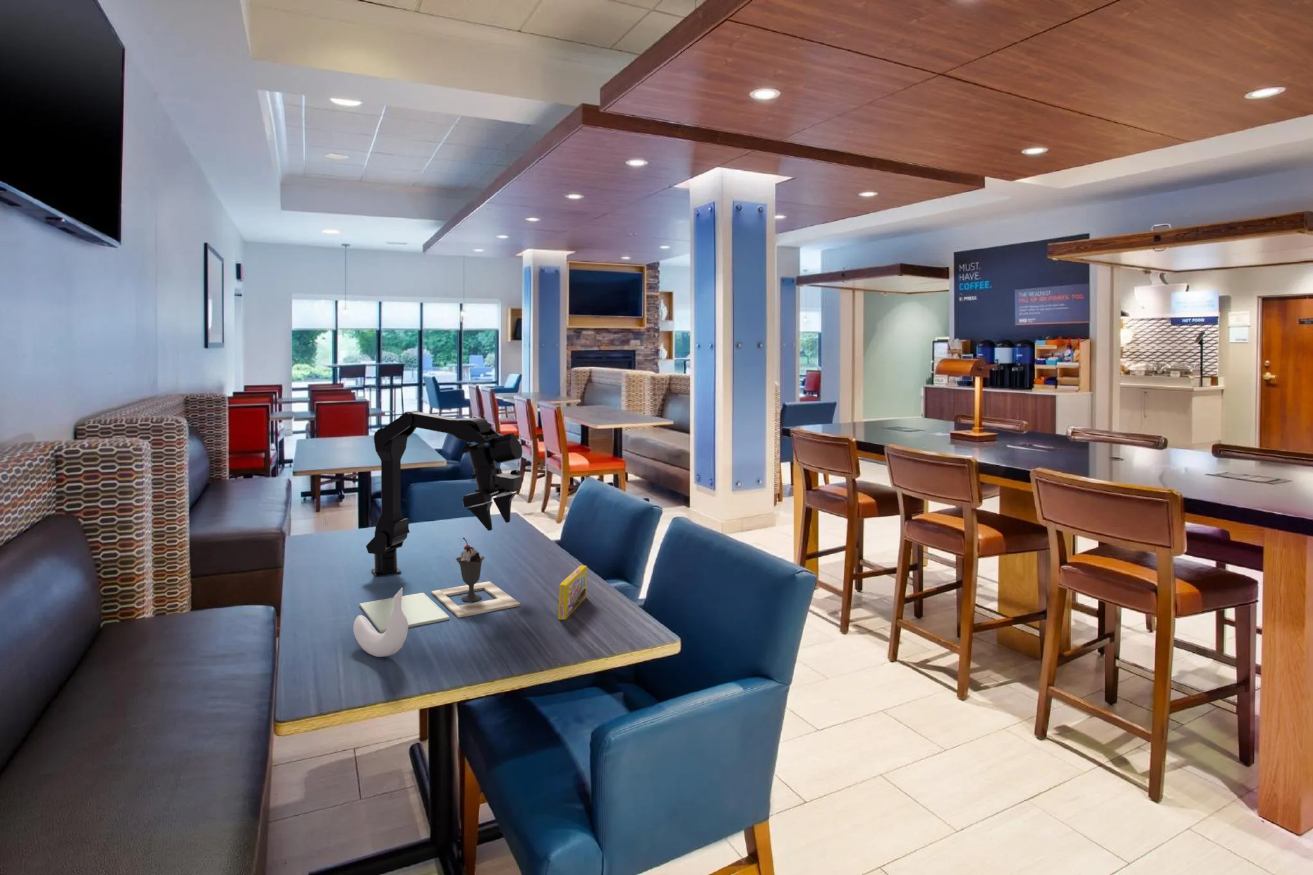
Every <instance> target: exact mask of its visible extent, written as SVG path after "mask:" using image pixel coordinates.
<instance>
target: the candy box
mask: <svg viewBox="0 0 1313 875" xmlns="http://www.w3.org/2000/svg"><path fill="white" fill-rule="evenodd" d="M587 574H588V565H582V564H580V565H579V566H578V567H577V568H575V570H573V571H572V573H570V574H569V575H568V576H567V577H566V578H564V580H562V581H561V583H560V584H559V589H558V591H559V592H558V617H557V619H558V620H559V621H560V620H561V621H565V620H567V619H568V617H570V615H571V614H573V612H574V611H575V610H576V609H577V608H578V606H580V605H581V603H582V602H583V601H584V600H585V599H586V598H587V581H588V580H587V579H588V578H587V577H588V575H587Z"/></svg>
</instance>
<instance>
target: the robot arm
mask: <svg viewBox="0 0 1313 875" xmlns="http://www.w3.org/2000/svg"><path fill="white" fill-rule="evenodd" d="M417 428H418V429H422V430H426V431H428V430H429V431H433V432H438V433H443V434H448V435H451V436H453V437H454V438H456V439H458V440H461V441H463V442H465V444H464V446H463V448H462V449H461V451H460V454H467V453H468V455H469V457H470V463H471V466H472V470H473V473H472V474H470V476H471V479H475V483H476V485H477V486H476V487H477V489H475V490H474V491H475V492H472V493H469V494H466V495H464V496H463V497H462V499H461V501H462V506H463V508H466V509H467V510H468V511H470V512H471V513H472V514H473V515H474V516H475V517H476V518H477V519H478V520H479V521H480V523H481V524H482V526H483V527H484V528H485V529H486V530H487V531H488V532H490V531H492V530H493V522H492V516H491V507H492V506H493V502H494V504H495V506H496V507H497V509H498V512H499V513H500V515H501V517H502V519H503V520H504V522H505V523H506V524H507V523H510V522H511V510H512V508H511V507H512V501H513V499H514V498H515V496H516V495H517V493H518V492H517V491H519V489H520V488H521V482H524V478H523V475H522V473H521V471H520V469H516V468H515V469H512V470H511V471H510V473H509V472H507V473H505V472H503V470H502V468H501V467H497V465H496V463H497V464H502V463H507V462H511V461H515V460H516V461H517V460H519V459H521V458H522V456H523V446H522V444H521V443H520V440H519V439H518V438H517V437H515V432H510V433H505V434H504V435H499V434H498V432H496V431H495V430H494V428H492V427H491V426H490V424H489V422H488V420H487V419H485V418H484V417H483V418H482V417H469V418H468V417H467V418H465V417H464V418H455V417H449V416H444V415H437V414H433V413H428V412H421V411H418V410H409V411H408V410H407V411H405V412H403V413H402V414H401V415H400V416H399V417H398V418H395V420H393V421H391V422H390V423H387V425H385V426H384V427H380V428H378V429H377V430H376V431H375V432H374V434H373V443H374V450H375V453H376V454H377V456H378V457H379V459H380V474H381V475H380V482H381V484H380V485H381V486H380V488H381V489H380V493H381V494H380V496H381V503H380V504H381V506H380V507H381V509H380V510H381V512H380V516H379V518H378V520H377V522H376V523H375V530H374V537H372V538H371V540H370V541H369V542H368V543H367V544H366V546H365V548H366V551H367V553H368V554H374V568H372V569H371V568H370V569H371V573H373V575H375V577H384V576H390V575H395V574H396V575H397V574H401V573H402V570H401V569H400V568H399V567H398V552H397V549H400V548H402V547H403V544H404V541H405V540H406V539H407V538H408V535H409V533H410V529H409V528H410V527H409V525H410V519H409V518H405V517H404V515H403V513H402V506H401V504H402V502H401V499H402V498H401V496H402V494H401V492H402V490H401V489H402V488H401V487H402V485H401V484H402V483H401V479H402V478H401V475H402V474H401V465H402V464H401V463H402V462H401V461H402V458H403V456H404V453H405V451H406V449H407V443H408V438H409V437H410V436H412V435H413V434H414V433H415V432H416V430H417ZM472 443H474V444H472ZM486 444H488V445H486ZM491 499H492V500H493V501H492V500H491Z"/></svg>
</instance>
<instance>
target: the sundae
mask: <svg viewBox="0 0 1313 875" xmlns="http://www.w3.org/2000/svg"><path fill="white" fill-rule="evenodd" d="M462 539H463V540H464V541H465V543H466V545H464V546H463V551H462V552H461V554H460V556H459V557H456V558H455V560H456V562H457V563H459V567H460V572H461V573H460V574H461V578H462V581H463V582H464V584H465V585H468V586H469V592H468V594H467V595H464V596H462V597H461V598H460V600H461V601H462V602H466V603H476V602H480V601H481V600H482V599H483V596H481V595H480V594H476V593H475V591H474V584H476V583H479V580H480V578H481V573H482V572H481V570H482V563H483V560H484V559H485V556H481V555H480V552H479V551H478V550H477V549H476V548H475V547H472V546H470V545H469V544H468V541H467V539H466V538H465V537H462Z"/></svg>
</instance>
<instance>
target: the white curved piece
mask: <svg viewBox="0 0 1313 875" xmlns="http://www.w3.org/2000/svg"><path fill="white" fill-rule="evenodd" d="M403 590H404V588H403V587H401V588H400V589H399V590H398V591H397V593H395V595H394V596H393V598H394V609H393V611H392V614H391V616H390V619H389V623H388V626H387V630H386V632H382V633H380V632H379V631H377V630H376V627H375V626H373V625H372V624H373V623H372V622H371V621H369V620H370V619H369V618H367V616H364V615H362V614H359V615H357V616H356V617H355V620H354V622H353V626H352V629H353V634H354V637H355V639H356V641H357V643H358V644H359V646H360V647H361V648H362V649H363V651H364V652H366V653H367V654H369V655H371V656H373V657H377V658H378V657H379V658H380V657H381V658H382V657H390V656H392V655H394V654H396V653H397V652H398V651H400V650H401V649H402V647H403V645H404V643H405V641H406V639H407V635H408V630H409V627H408V621H407V618H406V616H405V614H404V613H403V611H402V608H401V600H402V596H403V593H404V591H403Z"/></svg>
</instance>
